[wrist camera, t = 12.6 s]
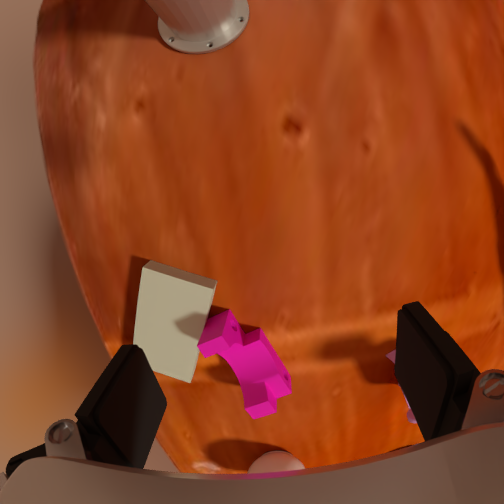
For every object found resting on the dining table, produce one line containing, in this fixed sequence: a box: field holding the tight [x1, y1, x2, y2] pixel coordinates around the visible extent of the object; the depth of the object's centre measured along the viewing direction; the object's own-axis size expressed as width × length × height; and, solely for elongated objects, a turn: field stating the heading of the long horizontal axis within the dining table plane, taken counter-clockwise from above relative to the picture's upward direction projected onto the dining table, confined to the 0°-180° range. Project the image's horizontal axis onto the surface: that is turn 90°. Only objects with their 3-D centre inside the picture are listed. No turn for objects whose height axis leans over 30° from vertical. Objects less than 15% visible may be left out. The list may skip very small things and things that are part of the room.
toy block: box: [197, 309, 292, 419], centre depth 41 cm, size 15×6×8 cm, turn 29°
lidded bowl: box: [247, 451, 305, 474], centre depth 47 cm, size 13×13×11 cm
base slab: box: [133, 260, 217, 383], centre depth 43 cm, size 17×10×4 cm, turn 164°
